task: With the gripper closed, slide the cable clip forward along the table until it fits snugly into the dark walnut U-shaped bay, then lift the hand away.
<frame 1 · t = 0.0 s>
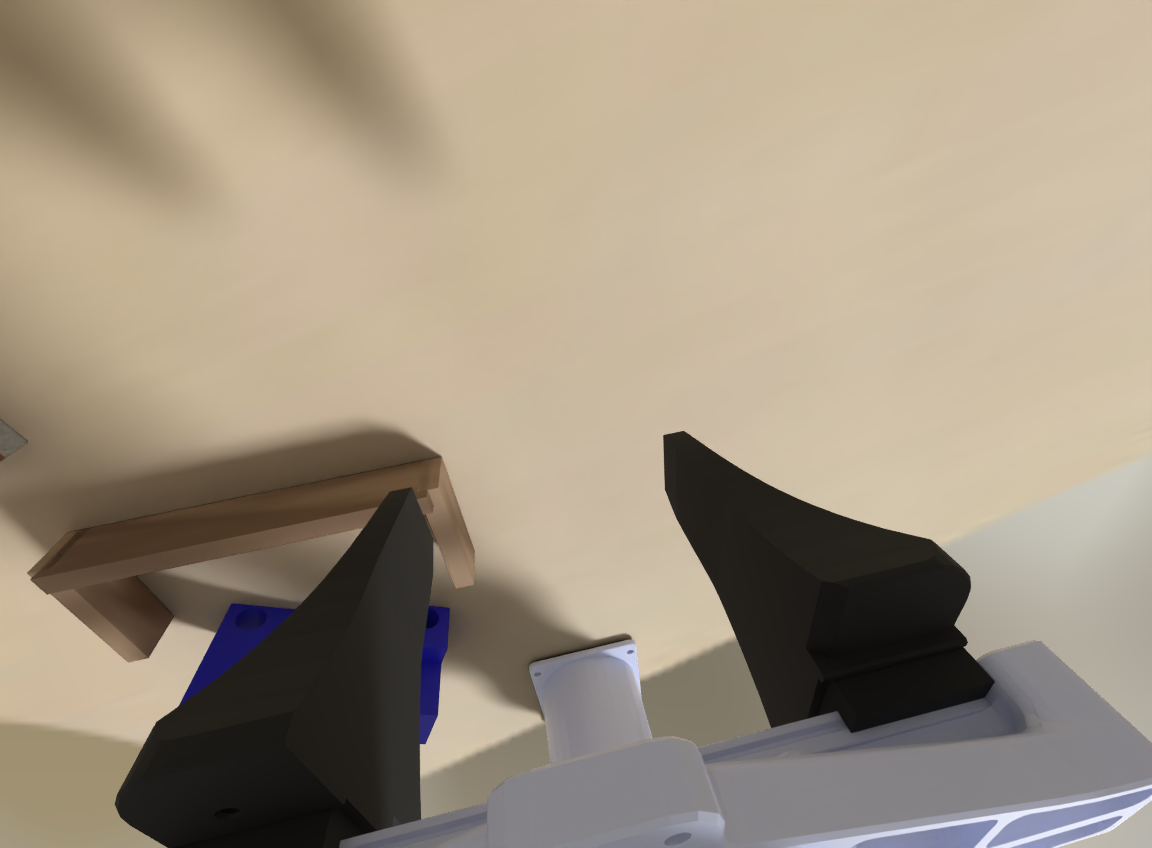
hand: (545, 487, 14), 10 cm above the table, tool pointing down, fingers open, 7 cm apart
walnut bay: (295, 548, 26), on the table
cable clip: (344, 616, 30), on the table
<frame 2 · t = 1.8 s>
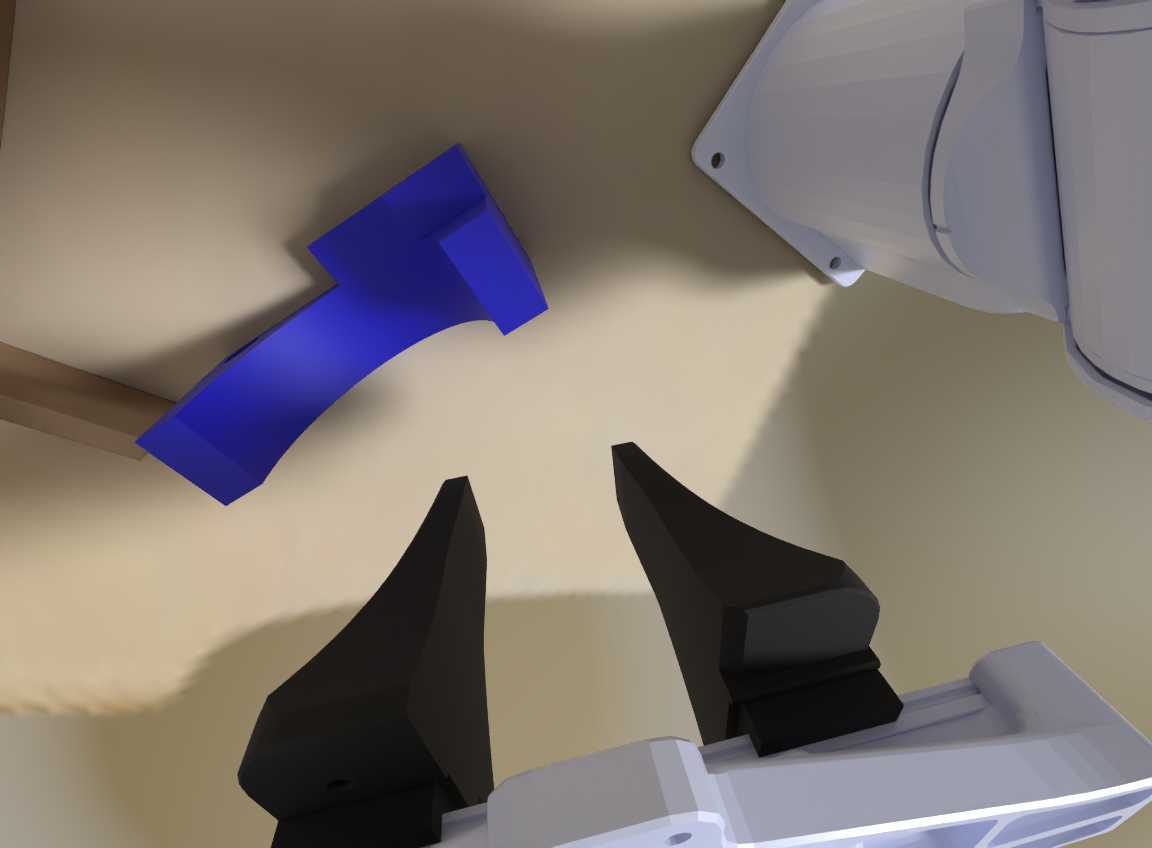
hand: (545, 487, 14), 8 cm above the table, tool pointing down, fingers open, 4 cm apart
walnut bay: (131, 167, 15), on the table
cable clip: (365, 290, 18), on the table
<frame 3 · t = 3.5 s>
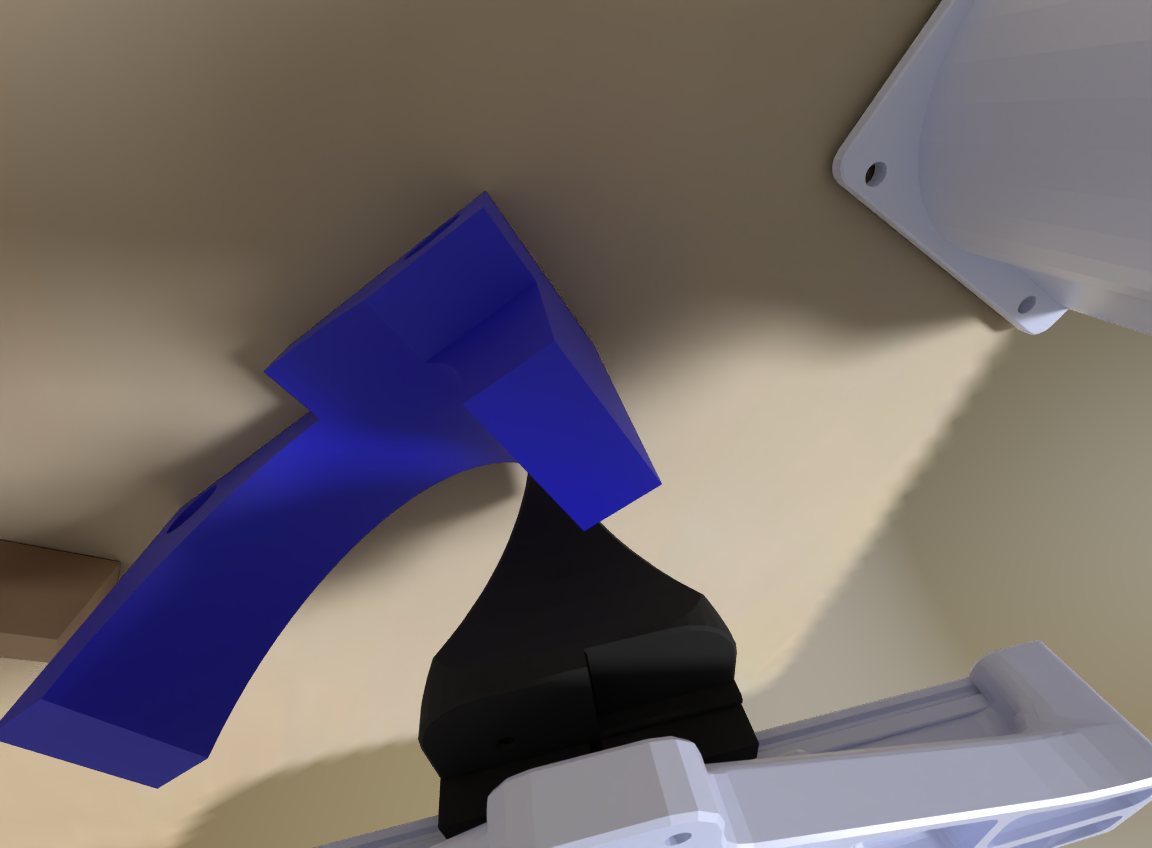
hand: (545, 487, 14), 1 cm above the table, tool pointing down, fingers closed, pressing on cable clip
cable clip: (362, 406, 13), on the table, touching gripper
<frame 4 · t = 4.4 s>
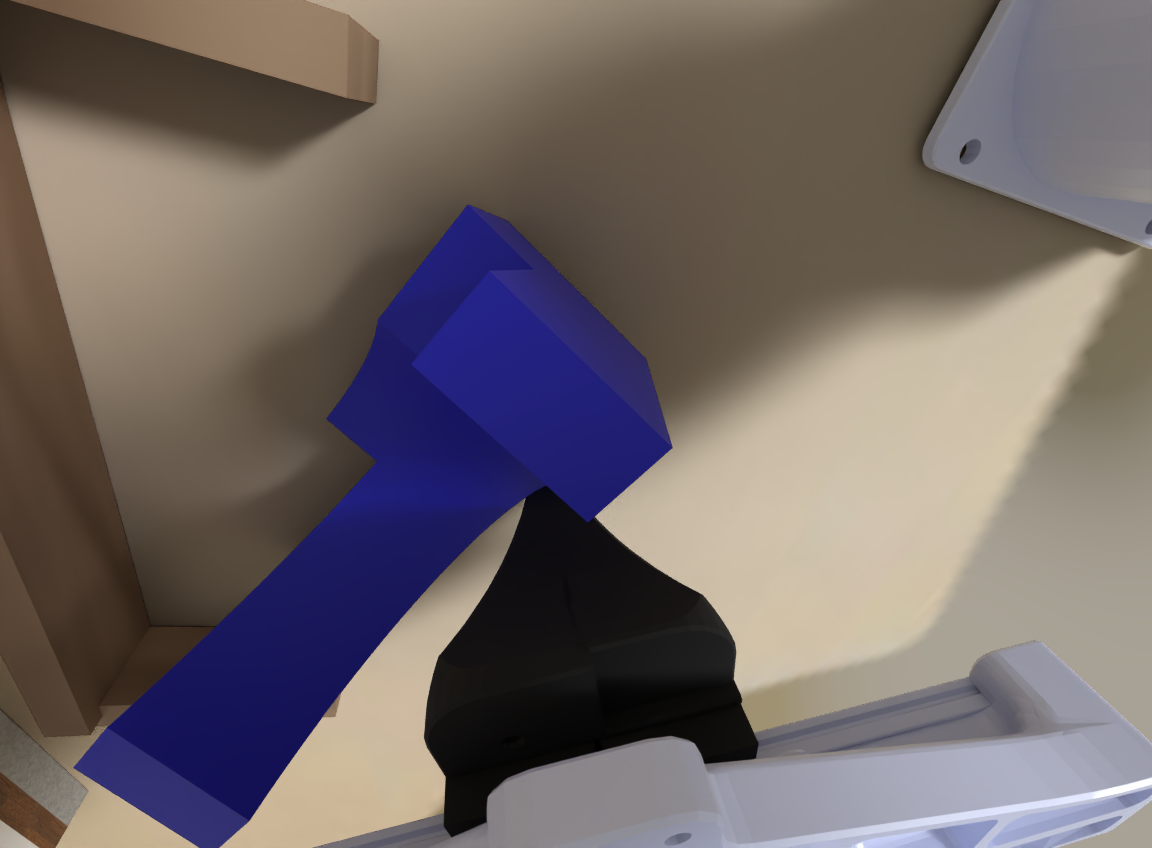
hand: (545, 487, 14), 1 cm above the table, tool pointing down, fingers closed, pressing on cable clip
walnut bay: (235, 428, 12), on the table
cable clip: (428, 455, 13), point 1 cm above the table, touching gripper
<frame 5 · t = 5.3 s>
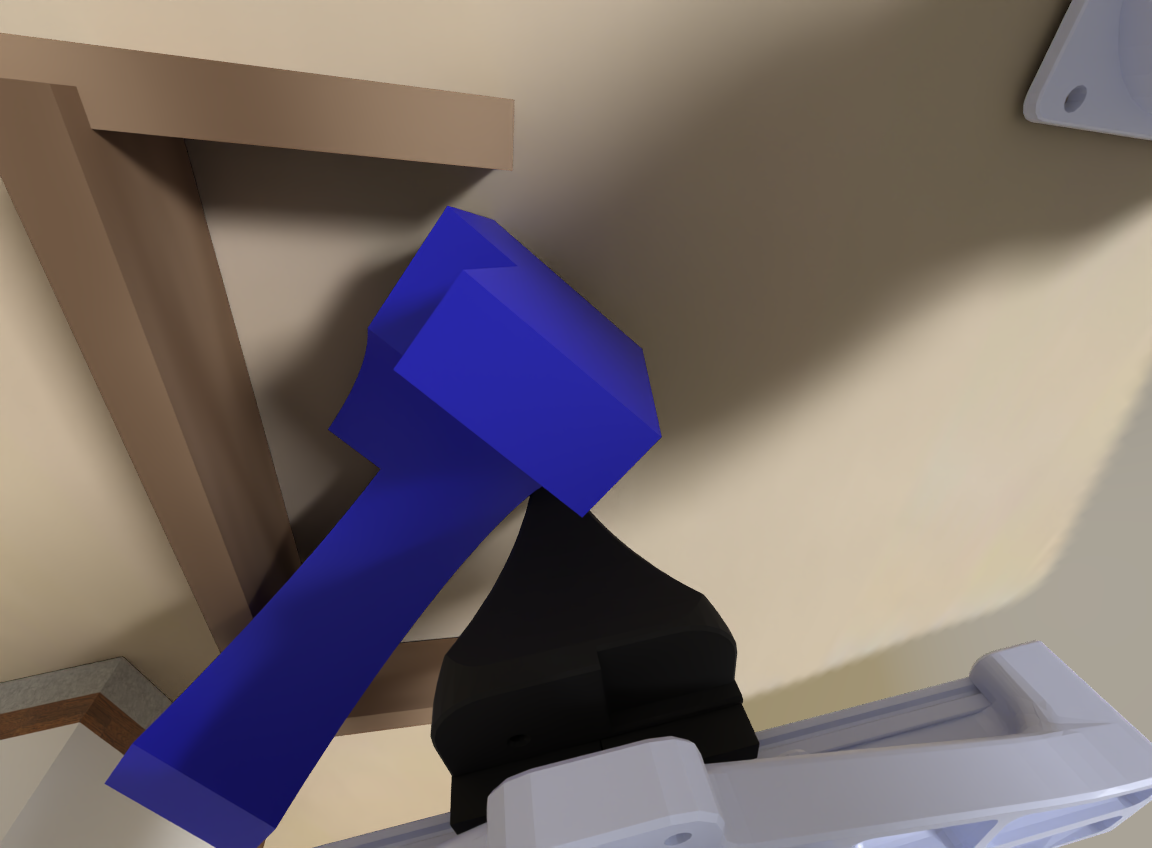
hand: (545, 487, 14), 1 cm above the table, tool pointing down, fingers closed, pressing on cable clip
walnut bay: (391, 468, 14), on the table
display case: (69, 768, 18), on the table
cable clip: (432, 460, 13), point 1 cm above the table, touching gripper, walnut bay
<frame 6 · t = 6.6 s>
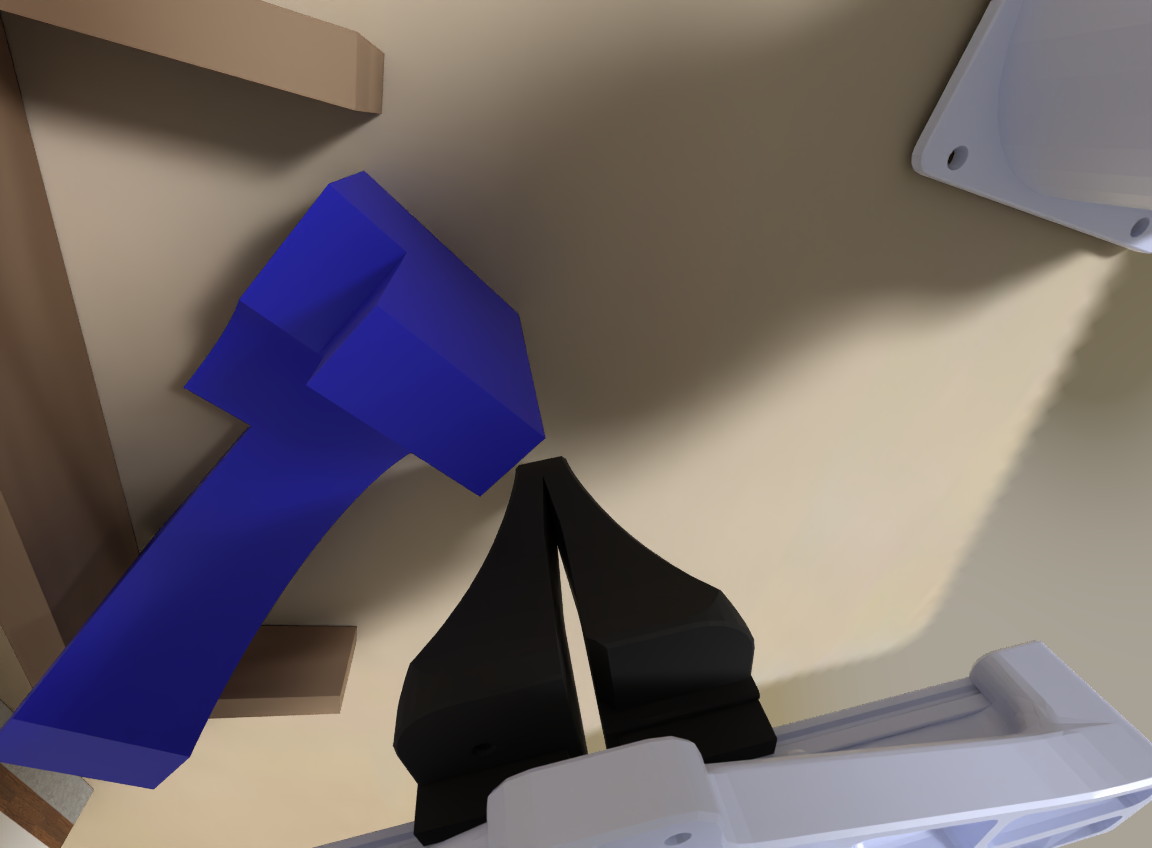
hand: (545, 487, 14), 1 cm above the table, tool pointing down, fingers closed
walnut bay: (242, 429, 13), on the table
cable clip: (304, 409, 13), on the table
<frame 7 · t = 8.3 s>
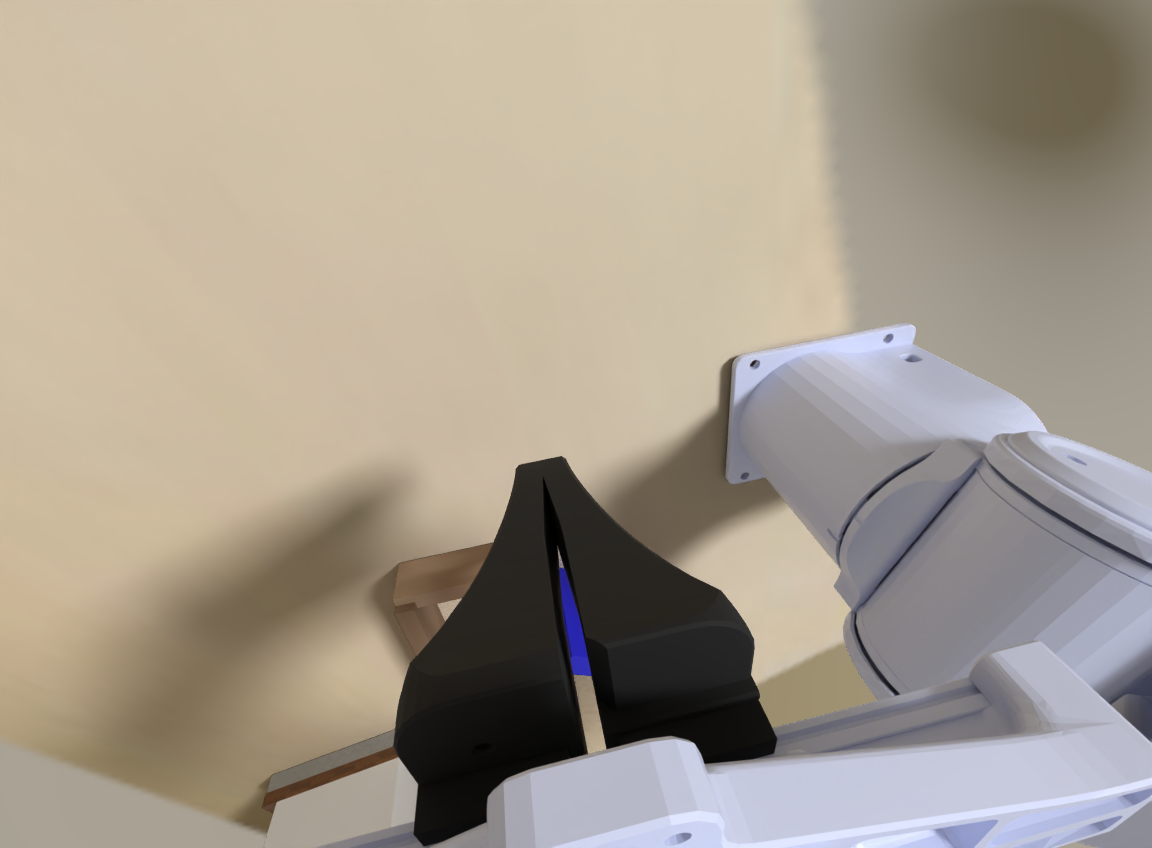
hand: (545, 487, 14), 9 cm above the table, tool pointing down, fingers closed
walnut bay: (502, 640, 32), on the table
display case: (379, 776, 39), on the table
cable clip: (530, 625, 32), on the table
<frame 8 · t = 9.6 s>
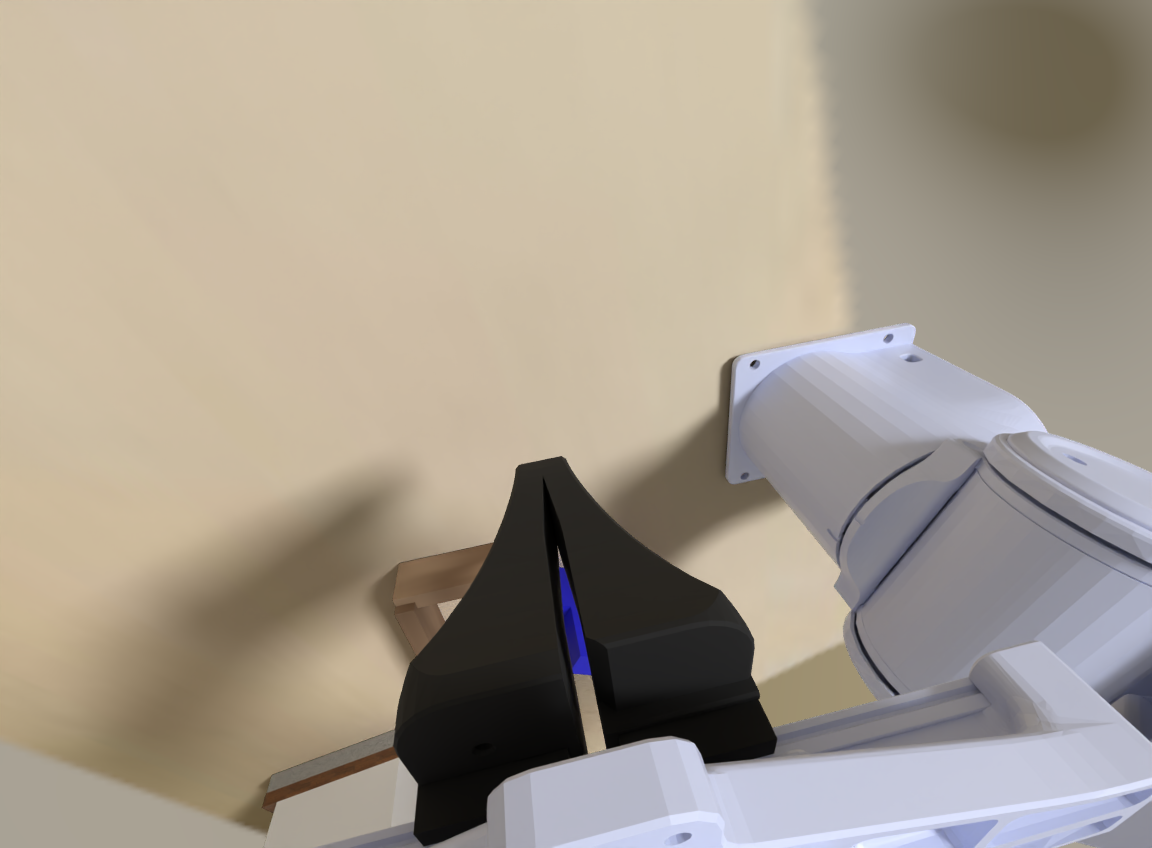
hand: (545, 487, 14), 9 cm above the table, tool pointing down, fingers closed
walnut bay: (502, 640, 32), on the table
display case: (379, 776, 39), on the table
cable clip: (537, 625, 32), on the table
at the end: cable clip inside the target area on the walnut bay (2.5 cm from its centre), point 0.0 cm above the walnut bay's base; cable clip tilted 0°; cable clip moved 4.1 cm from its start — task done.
